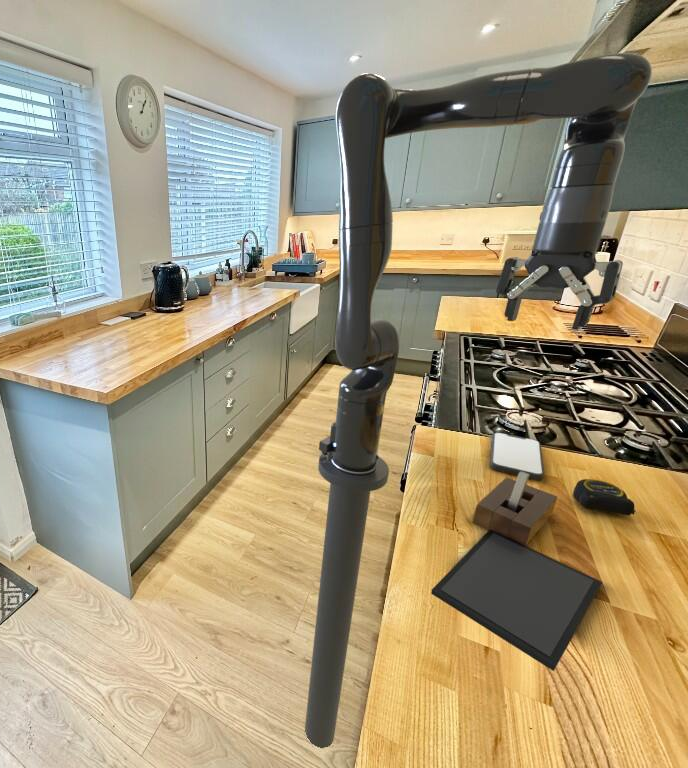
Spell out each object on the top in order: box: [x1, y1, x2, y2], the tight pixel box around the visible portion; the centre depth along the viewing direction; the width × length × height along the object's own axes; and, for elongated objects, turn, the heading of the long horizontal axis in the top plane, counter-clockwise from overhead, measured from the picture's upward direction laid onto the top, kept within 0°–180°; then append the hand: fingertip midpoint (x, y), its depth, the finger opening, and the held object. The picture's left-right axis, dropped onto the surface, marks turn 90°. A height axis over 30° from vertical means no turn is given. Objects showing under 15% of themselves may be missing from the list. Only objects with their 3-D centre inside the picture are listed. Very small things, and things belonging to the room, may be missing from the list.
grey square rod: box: [507, 471, 530, 512], centre depth 71 cm, size 1×1×10 cm
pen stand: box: [471, 476, 559, 546], centre depth 73 cm, size 8×13×4 cm, turn 125°
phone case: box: [489, 432, 545, 481], centre depth 91 cm, size 9×2×16 cm
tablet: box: [430, 529, 603, 672], centre depth 60 cm, size 14×20×1 cm
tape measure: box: [572, 478, 636, 516], centre depth 75 cm, size 7×7×4 cm
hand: (542, 324), depth 69 cm, fingers open, 8 cm apart
